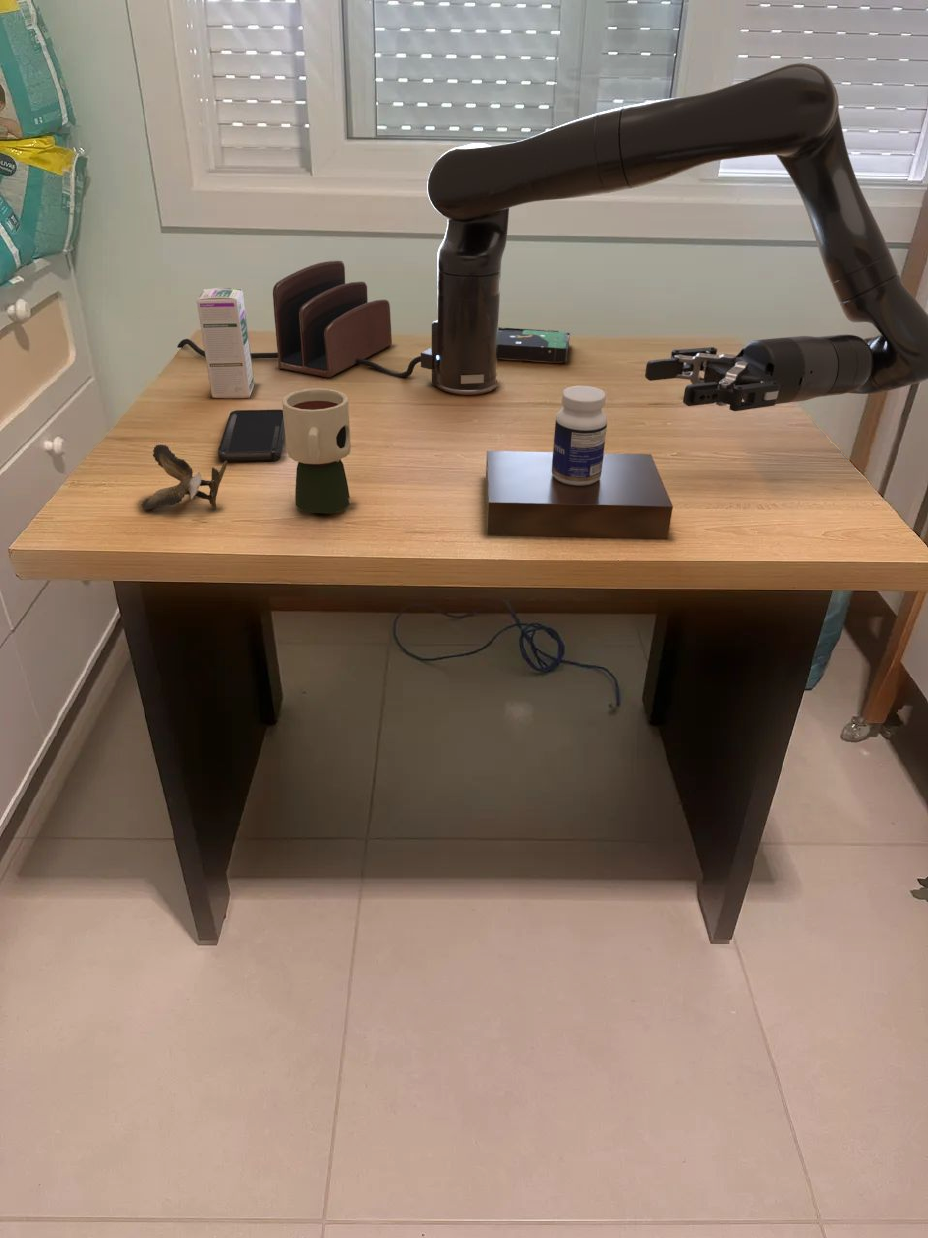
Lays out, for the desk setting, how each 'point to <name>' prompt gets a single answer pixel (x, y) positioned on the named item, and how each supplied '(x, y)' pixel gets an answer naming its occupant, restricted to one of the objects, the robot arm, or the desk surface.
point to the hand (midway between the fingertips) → (665, 382)
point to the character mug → (318, 447)
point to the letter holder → (327, 321)
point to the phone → (253, 436)
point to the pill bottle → (579, 436)
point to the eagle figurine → (182, 481)
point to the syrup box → (226, 342)
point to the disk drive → (532, 345)
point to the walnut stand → (575, 498)
